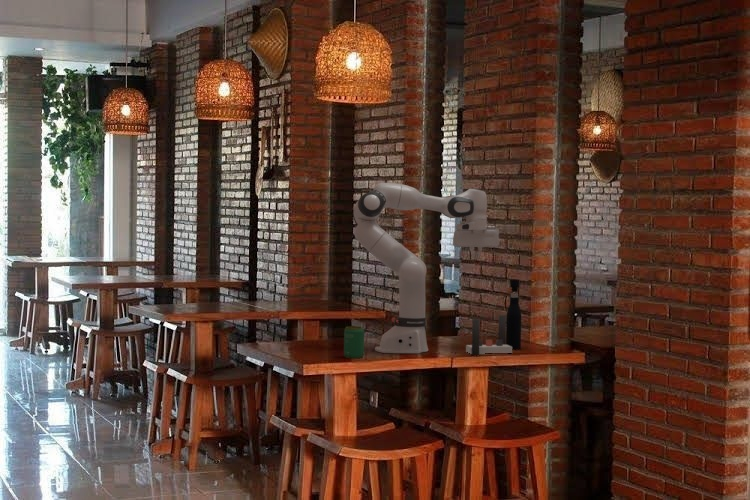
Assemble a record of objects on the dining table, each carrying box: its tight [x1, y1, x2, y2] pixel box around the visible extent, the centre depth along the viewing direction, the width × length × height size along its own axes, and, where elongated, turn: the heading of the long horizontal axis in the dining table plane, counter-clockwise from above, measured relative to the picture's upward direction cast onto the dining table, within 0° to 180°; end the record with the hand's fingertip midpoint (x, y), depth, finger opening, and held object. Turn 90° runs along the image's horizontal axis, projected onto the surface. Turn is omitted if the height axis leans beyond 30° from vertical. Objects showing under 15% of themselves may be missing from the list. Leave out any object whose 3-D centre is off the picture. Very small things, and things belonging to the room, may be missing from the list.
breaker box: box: [465, 344, 513, 355], centre depth 444 cm, size 18×7×3 cm, turn 102°
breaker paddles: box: [479, 339, 503, 346], centre depth 444 cm, size 11×1×2 cm, turn 102°
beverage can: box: [343, 325, 365, 359], centre depth 425 cm, size 8×8×12 cm
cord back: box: [497, 314, 507, 345], centre depth 452 cm, size 3×3×15 cm
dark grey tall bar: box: [471, 318, 481, 356], centre depth 436 cm, size 3×3×15 cm
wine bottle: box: [505, 278, 522, 350], centre depth 458 cm, size 6×6×30 cm
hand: (475, 257), depth 460 cm, fingers closed
